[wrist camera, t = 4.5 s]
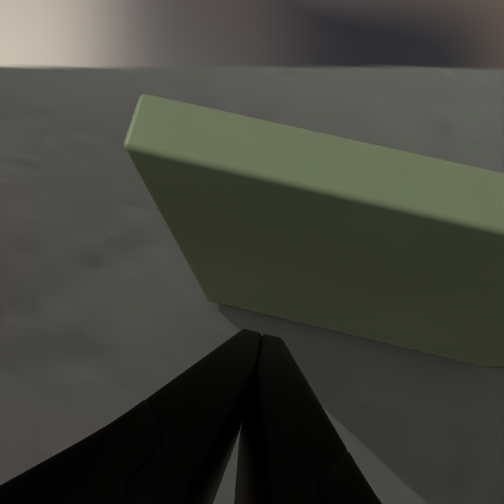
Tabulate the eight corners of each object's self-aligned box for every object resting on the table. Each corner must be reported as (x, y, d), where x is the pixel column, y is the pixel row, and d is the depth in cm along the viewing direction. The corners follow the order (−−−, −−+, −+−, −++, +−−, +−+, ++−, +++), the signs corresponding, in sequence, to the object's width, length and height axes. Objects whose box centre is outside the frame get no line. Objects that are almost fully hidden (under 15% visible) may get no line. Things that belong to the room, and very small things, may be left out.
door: (486, 346, 18) (1066, 294, 5) (483, 367, 18) (1079, 364, 5) (211, 281, 18) (138, 89, 6) (206, 300, 18) (119, 146, 6)
